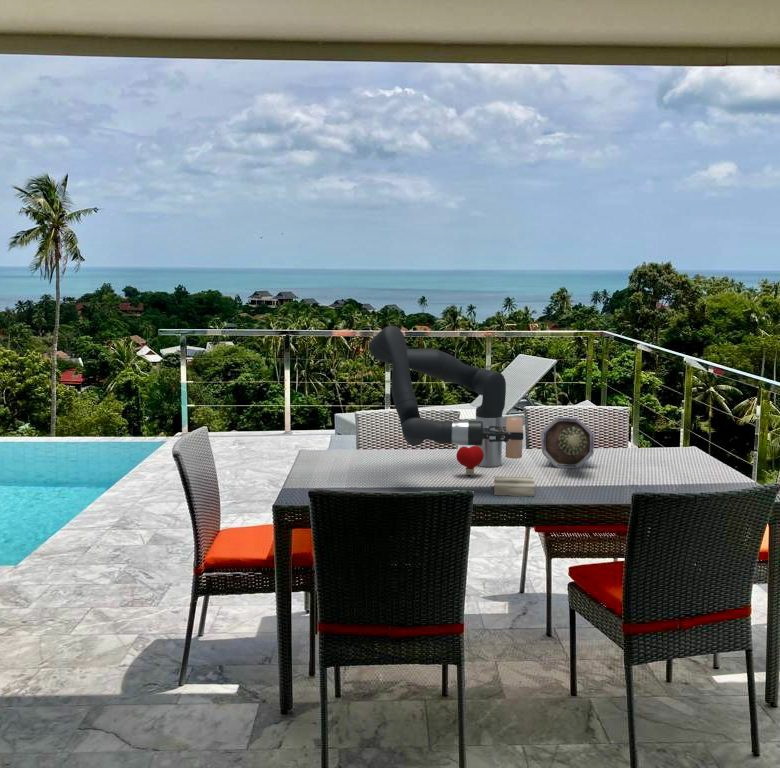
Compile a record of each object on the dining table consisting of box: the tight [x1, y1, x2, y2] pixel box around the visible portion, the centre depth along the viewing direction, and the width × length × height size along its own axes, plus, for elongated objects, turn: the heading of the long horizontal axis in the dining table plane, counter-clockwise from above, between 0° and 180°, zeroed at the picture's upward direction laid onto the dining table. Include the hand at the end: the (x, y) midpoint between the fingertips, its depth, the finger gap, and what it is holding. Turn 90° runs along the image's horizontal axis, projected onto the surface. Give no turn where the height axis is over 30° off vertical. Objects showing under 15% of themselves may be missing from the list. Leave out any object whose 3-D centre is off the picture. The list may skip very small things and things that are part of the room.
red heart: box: [456, 445, 484, 477], centre depth 280 cm, size 9×7×10 cm
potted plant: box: [540, 416, 595, 469], centre depth 289 cm, size 18×18×30 cm
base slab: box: [493, 476, 536, 497], centre depth 261 cm, size 12×12×3 cm
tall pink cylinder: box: [505, 416, 524, 459], centre depth 259 cm, size 5×5×12 cm
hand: (522, 434), depth 258 cm, fingers closed on tall pink cylinder, 5 cm apart
